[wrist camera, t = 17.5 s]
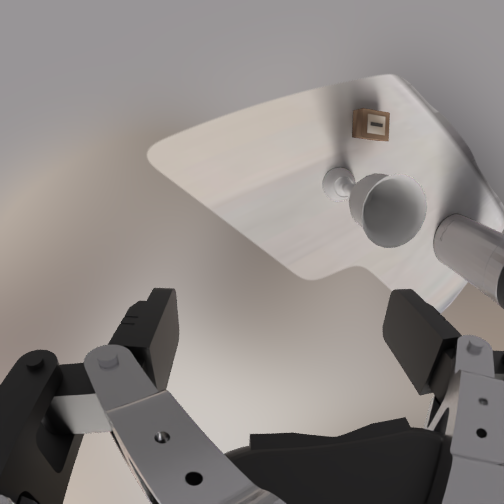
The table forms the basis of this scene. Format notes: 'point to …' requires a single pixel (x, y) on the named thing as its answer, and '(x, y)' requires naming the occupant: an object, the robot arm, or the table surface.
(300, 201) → the table surface
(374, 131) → the walnut cube
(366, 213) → the chalice
